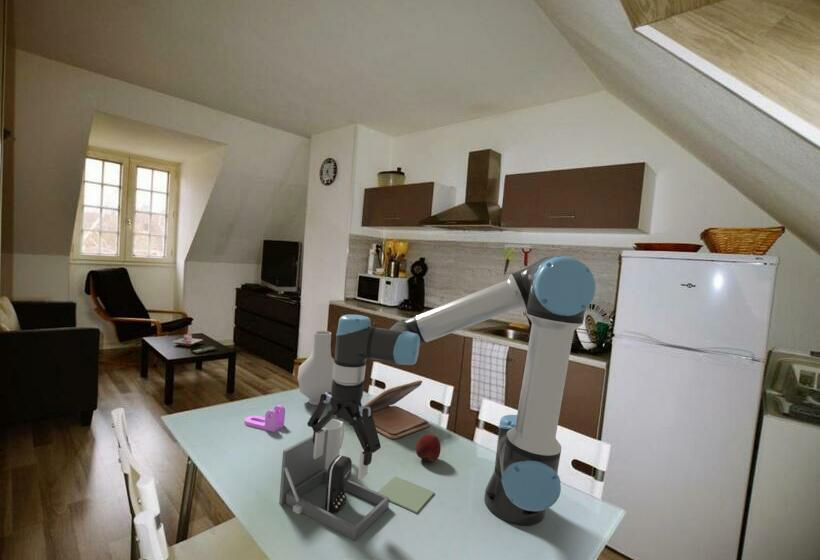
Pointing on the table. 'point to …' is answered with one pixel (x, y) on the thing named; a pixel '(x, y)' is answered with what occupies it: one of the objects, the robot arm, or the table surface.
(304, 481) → the case
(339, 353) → the robot arm
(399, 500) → the mat
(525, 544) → the table surface
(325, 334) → the vase
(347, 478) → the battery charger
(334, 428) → the mug
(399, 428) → the case
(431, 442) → the apple
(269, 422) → the bracket
